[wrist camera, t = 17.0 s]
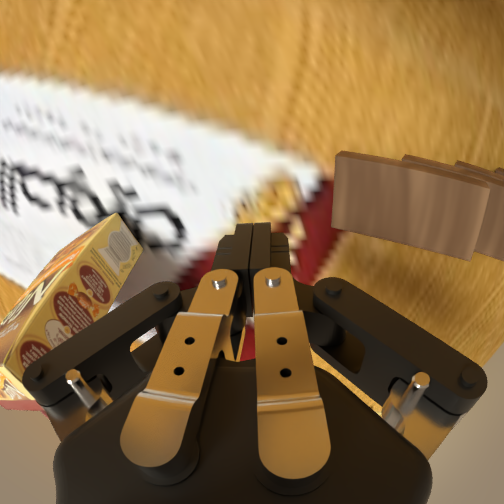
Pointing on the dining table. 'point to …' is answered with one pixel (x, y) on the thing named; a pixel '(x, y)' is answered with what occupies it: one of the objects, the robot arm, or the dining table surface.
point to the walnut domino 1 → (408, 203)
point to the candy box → (64, 302)
